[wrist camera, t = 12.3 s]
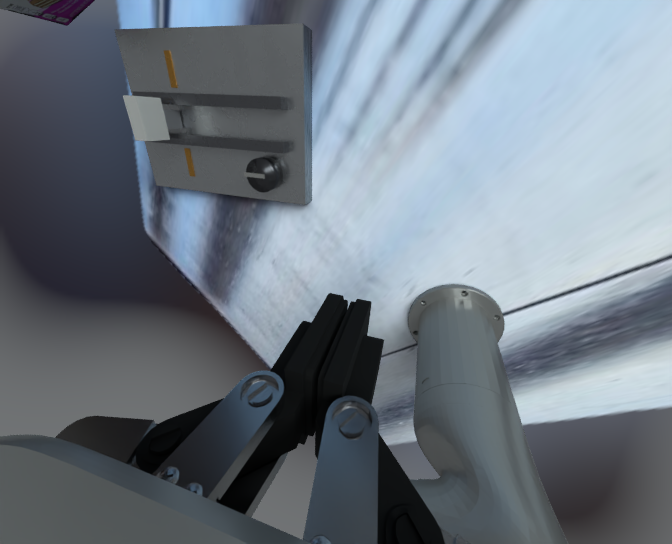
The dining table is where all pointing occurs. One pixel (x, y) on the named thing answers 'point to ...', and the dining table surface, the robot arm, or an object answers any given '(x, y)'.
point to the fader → (151, 118)
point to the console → (229, 106)
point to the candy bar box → (48, 9)
